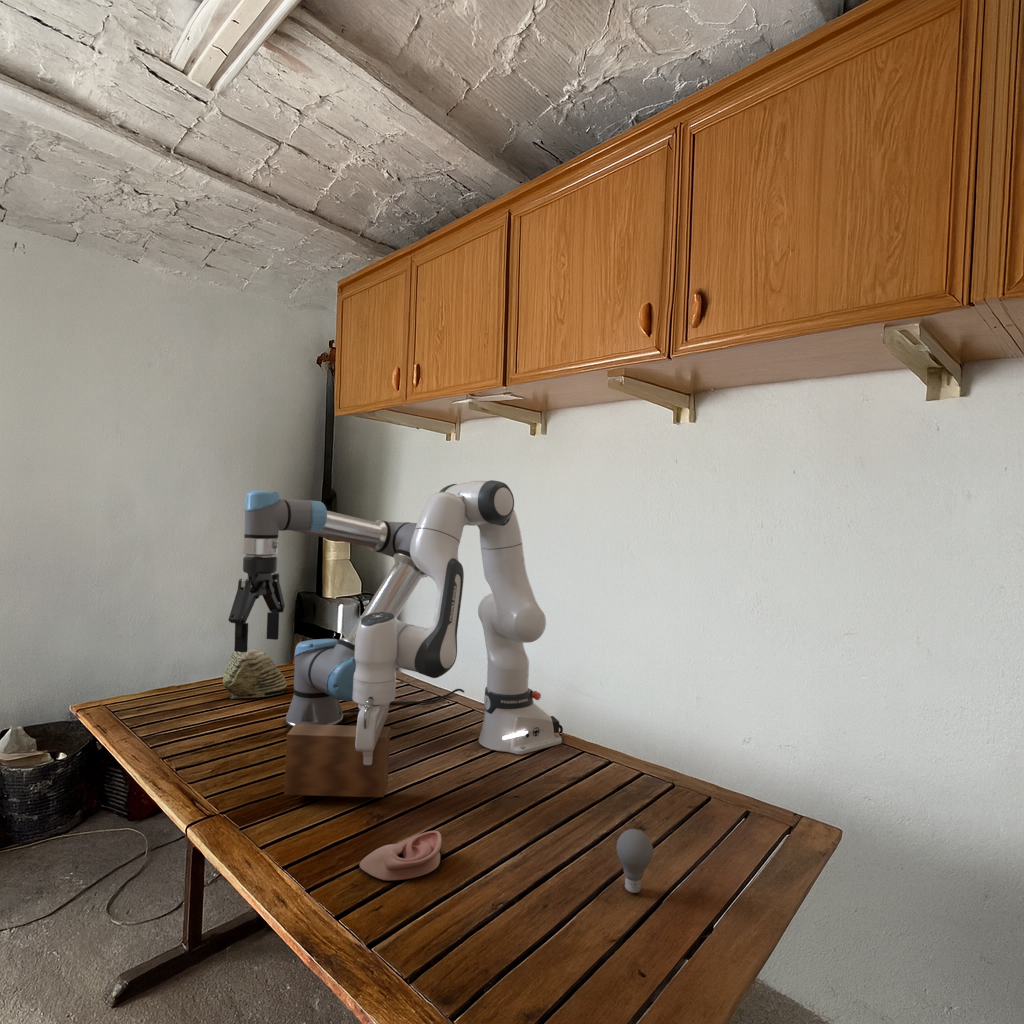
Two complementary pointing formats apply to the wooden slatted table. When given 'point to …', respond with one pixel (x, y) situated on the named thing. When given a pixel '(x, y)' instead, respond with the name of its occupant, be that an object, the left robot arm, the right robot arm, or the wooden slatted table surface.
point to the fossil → (252, 675)
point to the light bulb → (634, 857)
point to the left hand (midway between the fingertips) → (257, 645)
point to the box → (334, 762)
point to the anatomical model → (405, 858)
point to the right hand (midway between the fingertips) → (371, 756)
